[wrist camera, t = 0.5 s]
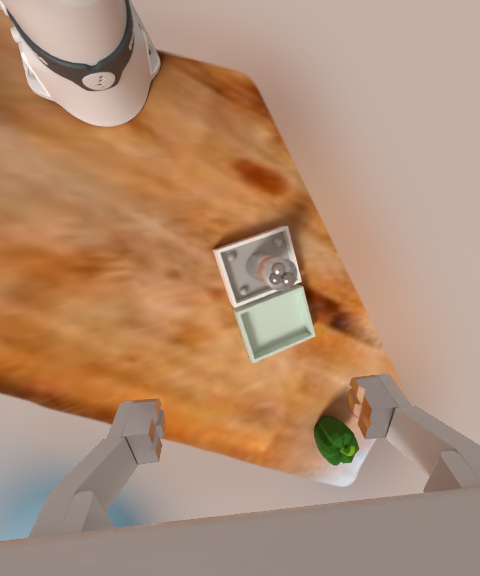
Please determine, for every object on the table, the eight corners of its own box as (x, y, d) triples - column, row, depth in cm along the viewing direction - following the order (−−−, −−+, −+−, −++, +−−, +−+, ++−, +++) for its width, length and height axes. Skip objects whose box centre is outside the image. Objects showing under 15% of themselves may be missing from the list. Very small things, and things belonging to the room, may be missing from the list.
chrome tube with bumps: (242, 257, 52) (265, 265, 40) (266, 249, 53) (296, 254, 41) (250, 282, 53) (274, 297, 42) (273, 274, 54) (304, 285, 43)
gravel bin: (212, 249, 52) (215, 250, 49) (281, 226, 54) (287, 225, 51) (230, 303, 55) (234, 307, 52) (294, 279, 57) (301, 281, 54)
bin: (232, 308, 55) (236, 312, 52) (296, 283, 57) (303, 286, 55) (248, 356, 58) (252, 363, 55) (308, 331, 60) (315, 336, 57)
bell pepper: (327, 447, 68) (354, 481, 59) (302, 435, 65) (326, 470, 56) (346, 418, 68) (376, 448, 58) (321, 405, 65) (349, 435, 56)
